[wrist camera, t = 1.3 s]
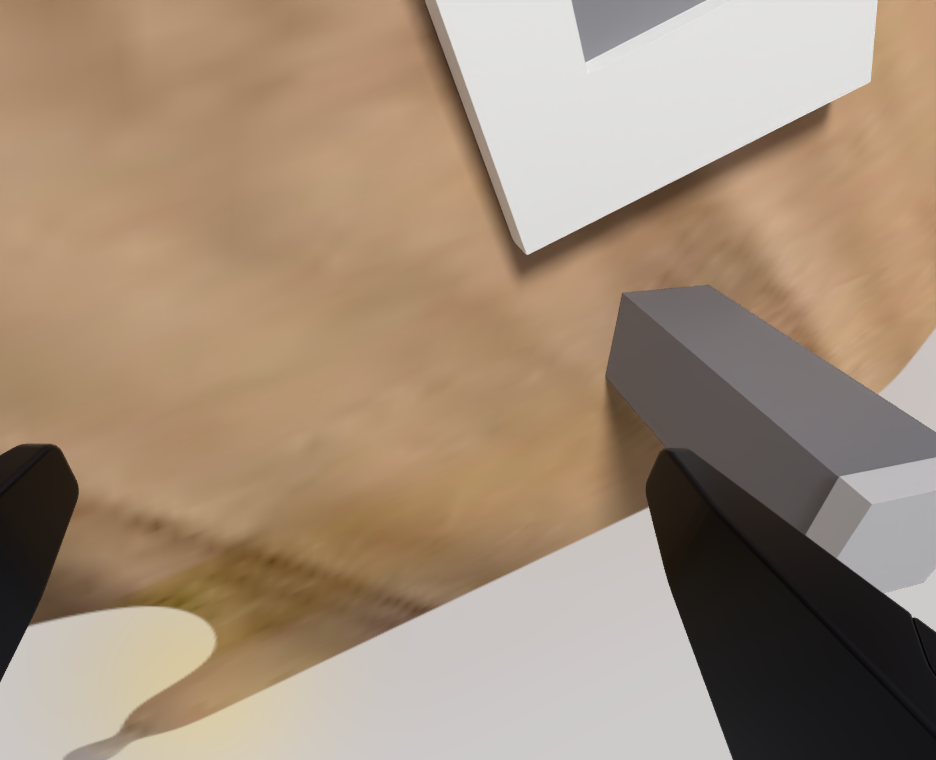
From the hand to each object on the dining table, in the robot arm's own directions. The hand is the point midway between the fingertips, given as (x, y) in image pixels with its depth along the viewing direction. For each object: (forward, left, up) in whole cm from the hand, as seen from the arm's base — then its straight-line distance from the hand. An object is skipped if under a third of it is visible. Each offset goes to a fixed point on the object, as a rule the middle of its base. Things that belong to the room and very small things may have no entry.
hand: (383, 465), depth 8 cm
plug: (+8, -13, -13) cm, 20 cm away
